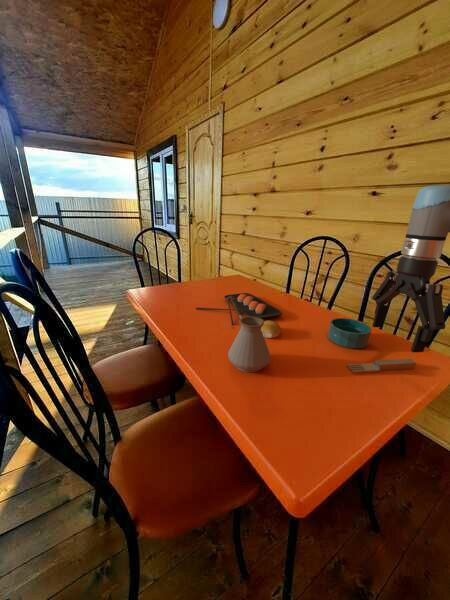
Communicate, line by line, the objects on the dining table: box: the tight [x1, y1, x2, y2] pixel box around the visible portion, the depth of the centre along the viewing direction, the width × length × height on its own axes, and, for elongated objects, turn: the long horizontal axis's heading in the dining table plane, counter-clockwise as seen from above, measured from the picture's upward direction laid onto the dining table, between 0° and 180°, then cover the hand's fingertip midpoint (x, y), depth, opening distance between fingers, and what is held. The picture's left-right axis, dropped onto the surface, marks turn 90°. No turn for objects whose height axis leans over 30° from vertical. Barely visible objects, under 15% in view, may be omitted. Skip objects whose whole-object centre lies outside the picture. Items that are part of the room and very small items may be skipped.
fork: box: [345, 358, 417, 375], centre depth 69 cm, size 19×3×2 cm, turn 98°
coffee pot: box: [226, 296, 271, 373], centre depth 71 cm, size 21×12×15 cm, turn 20°
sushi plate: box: [195, 292, 283, 326], centre depth 107 cm, size 29×30×4 cm
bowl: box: [327, 317, 372, 350], centre depth 84 cm, size 12×12×6 cm
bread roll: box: [261, 320, 282, 339], centre depth 87 cm, size 8×9×4 cm
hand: (395, 338), depth 67 cm, fingers open, 13 cm apart
